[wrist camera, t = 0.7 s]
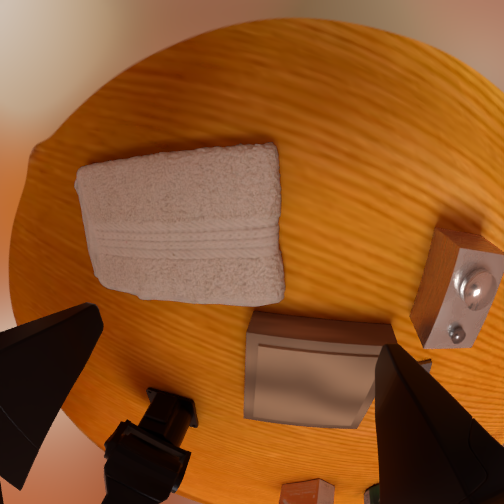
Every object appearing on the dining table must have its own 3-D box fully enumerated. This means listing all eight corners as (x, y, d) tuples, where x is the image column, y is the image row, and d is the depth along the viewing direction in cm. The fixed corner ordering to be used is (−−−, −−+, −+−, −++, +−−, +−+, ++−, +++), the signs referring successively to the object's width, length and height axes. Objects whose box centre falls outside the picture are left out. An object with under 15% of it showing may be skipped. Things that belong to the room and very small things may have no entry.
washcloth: (86, 165, 22) (63, 170, 19) (281, 137, 18) (276, 136, 15) (109, 280, 26) (92, 294, 24) (286, 290, 23) (283, 311, 20)
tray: (355, 407, 26) (356, 430, 23) (249, 397, 28) (243, 419, 25) (391, 324, 21) (399, 348, 18) (253, 310, 23) (245, 334, 20)
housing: (453, 317, 20) (475, 355, 15) (409, 315, 21) (427, 357, 16) (480, 234, 17) (515, 261, 12) (433, 226, 18) (467, 254, 13)
